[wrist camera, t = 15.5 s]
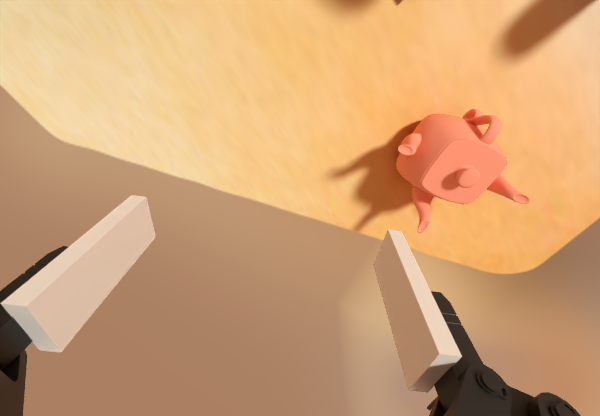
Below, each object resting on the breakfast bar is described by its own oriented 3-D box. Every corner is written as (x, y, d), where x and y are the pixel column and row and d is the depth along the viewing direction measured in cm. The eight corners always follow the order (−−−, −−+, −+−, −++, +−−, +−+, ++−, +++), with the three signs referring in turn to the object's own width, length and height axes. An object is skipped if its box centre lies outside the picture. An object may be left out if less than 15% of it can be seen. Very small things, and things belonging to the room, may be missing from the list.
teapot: (485, 170, 42) (533, 205, 33) (398, 198, 45) (420, 237, 36) (479, 81, 35) (540, 95, 26) (378, 123, 38) (398, 148, 29)
